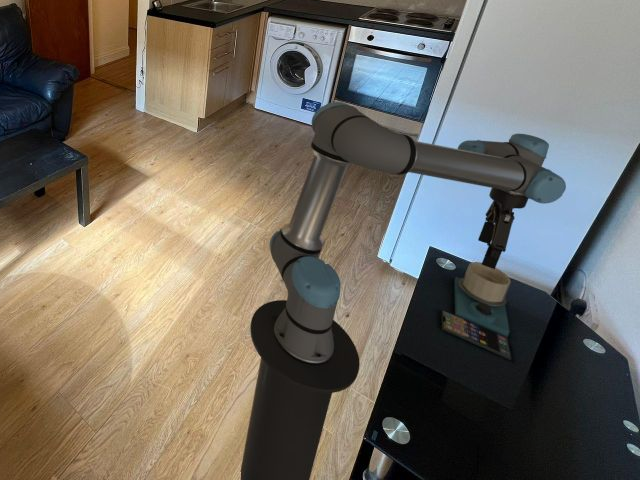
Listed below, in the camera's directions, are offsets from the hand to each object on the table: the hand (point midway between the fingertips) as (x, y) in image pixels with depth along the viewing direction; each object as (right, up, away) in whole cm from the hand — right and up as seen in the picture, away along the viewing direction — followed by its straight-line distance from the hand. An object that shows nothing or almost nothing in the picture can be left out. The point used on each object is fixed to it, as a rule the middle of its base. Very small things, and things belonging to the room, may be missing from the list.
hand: (485, 253), depth 116 cm
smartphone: (-5, -23, -1) cm, 24 cm away
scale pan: (+8, -16, +10) cm, 20 cm away
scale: (+6, -20, +9) cm, 23 cm away
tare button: (+2, -18, +3) cm, 19 cm away
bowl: (+8, -16, +10) cm, 20 cm away
